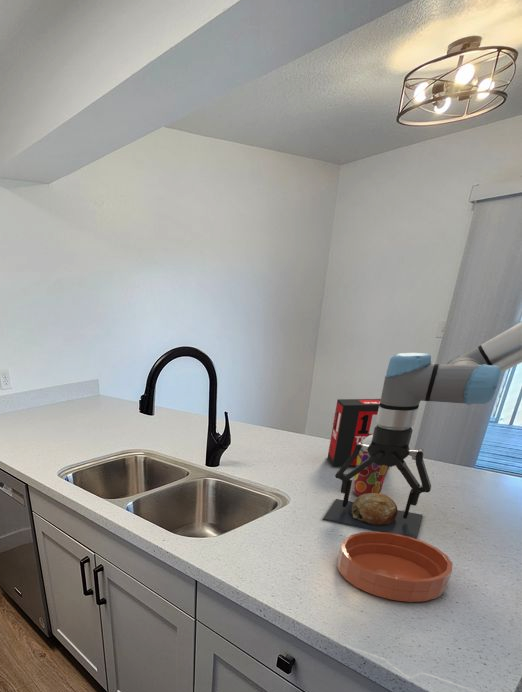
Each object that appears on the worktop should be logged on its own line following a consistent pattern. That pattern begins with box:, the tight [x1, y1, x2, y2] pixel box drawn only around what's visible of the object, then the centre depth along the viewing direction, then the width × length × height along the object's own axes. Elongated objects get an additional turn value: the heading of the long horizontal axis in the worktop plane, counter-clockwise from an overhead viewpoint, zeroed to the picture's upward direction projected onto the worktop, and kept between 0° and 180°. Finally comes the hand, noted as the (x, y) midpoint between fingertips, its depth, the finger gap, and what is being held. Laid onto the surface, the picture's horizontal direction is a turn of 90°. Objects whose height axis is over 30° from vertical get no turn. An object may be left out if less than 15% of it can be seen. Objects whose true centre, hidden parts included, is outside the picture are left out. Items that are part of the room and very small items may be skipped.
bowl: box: [336, 531, 454, 603], centre depth 86 cm, size 19×19×5 cm
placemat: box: [322, 498, 423, 539], centre depth 109 cm, size 20×14×1 cm
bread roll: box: [351, 492, 399, 525], centre depth 108 cm, size 10×10×8 cm
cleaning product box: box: [327, 398, 390, 469], centre depth 140 cm, size 16×9×20 cm, turn 77°
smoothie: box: [352, 434, 389, 497], centre depth 117 cm, size 8×8×20 cm
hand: (374, 510), depth 108 cm, fingers open, 13 cm apart
